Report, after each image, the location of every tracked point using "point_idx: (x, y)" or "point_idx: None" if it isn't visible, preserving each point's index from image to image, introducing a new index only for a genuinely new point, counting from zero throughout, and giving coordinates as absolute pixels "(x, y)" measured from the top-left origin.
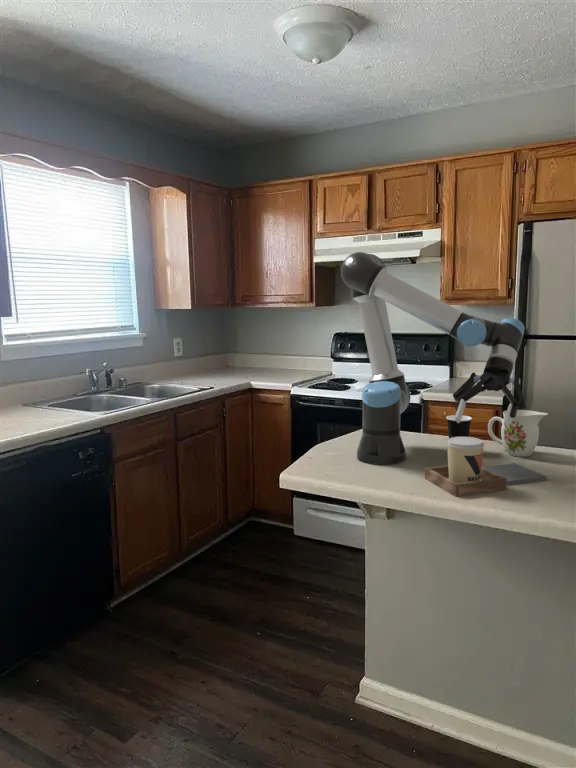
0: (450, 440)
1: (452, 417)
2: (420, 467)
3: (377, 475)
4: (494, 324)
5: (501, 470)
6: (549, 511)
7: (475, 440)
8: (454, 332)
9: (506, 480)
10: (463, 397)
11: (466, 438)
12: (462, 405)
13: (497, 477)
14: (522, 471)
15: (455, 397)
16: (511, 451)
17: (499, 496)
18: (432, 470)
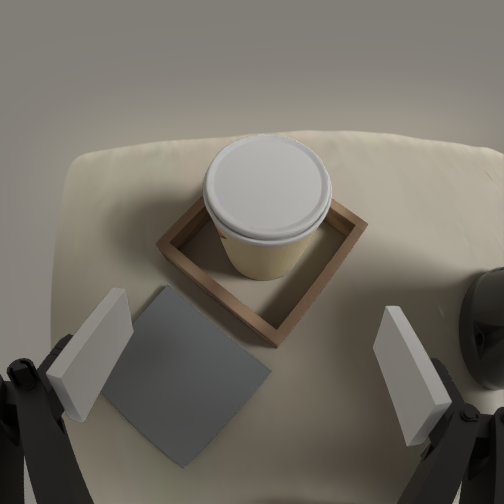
0: (316, 167)
1: None
2: (409, 317)
3: (441, 209)
4: None
5: (197, 380)
6: (88, 184)
7: (237, 204)
8: None
9: (157, 246)
10: (447, 427)
11: (278, 216)
12: (414, 385)
13: (179, 251)
14: (144, 396)
15: (490, 418)
16: None
17: (171, 207)
18: (344, 215)
